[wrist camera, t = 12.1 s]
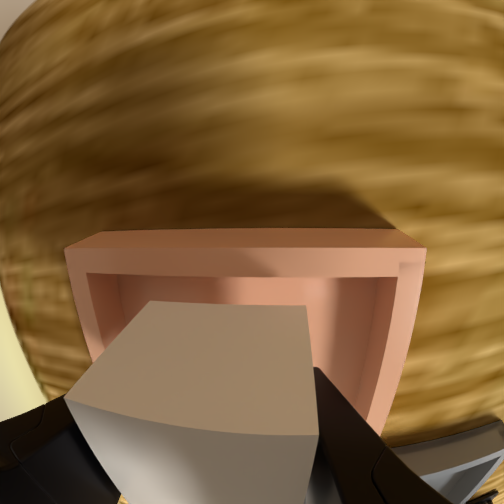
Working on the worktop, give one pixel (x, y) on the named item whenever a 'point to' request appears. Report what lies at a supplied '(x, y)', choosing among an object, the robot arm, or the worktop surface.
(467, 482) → the bin
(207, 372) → the beige cube
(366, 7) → the worktop surface
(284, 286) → the dish
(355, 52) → the worktop surface
